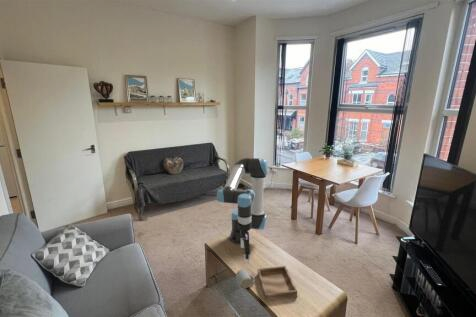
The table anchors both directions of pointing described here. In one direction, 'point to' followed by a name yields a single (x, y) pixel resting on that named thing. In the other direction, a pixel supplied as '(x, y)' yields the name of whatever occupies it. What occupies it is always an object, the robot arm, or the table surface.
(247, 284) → the ceramic mug
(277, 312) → the table surface
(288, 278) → the crate
